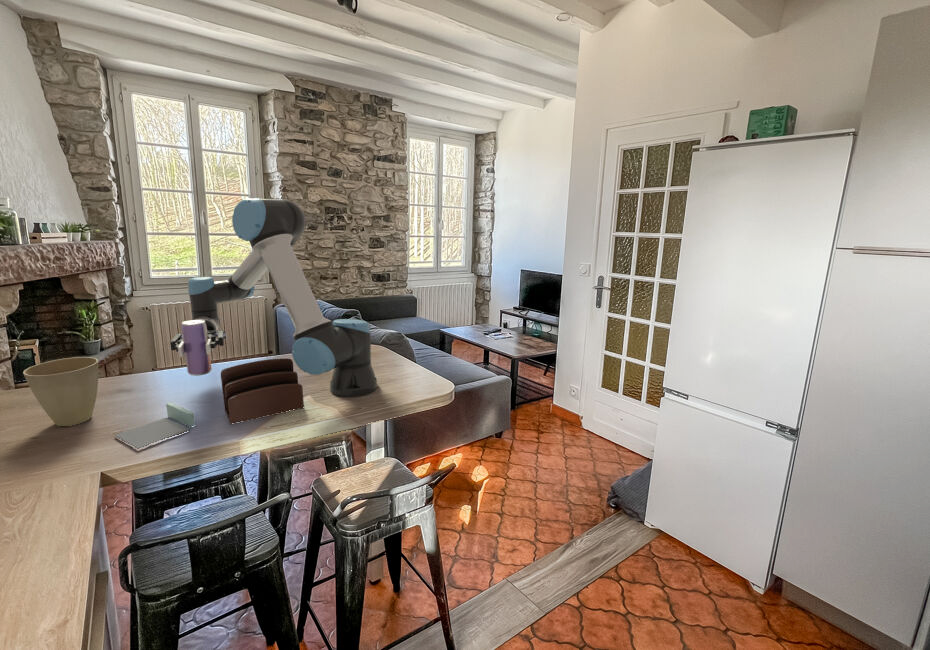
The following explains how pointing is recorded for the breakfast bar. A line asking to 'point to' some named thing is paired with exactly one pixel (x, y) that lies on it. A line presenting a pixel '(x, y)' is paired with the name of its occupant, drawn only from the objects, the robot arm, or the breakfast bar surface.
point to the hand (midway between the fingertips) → (194, 350)
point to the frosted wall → (180, 414)
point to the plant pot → (65, 388)
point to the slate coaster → (151, 433)
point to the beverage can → (196, 347)
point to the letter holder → (260, 389)
